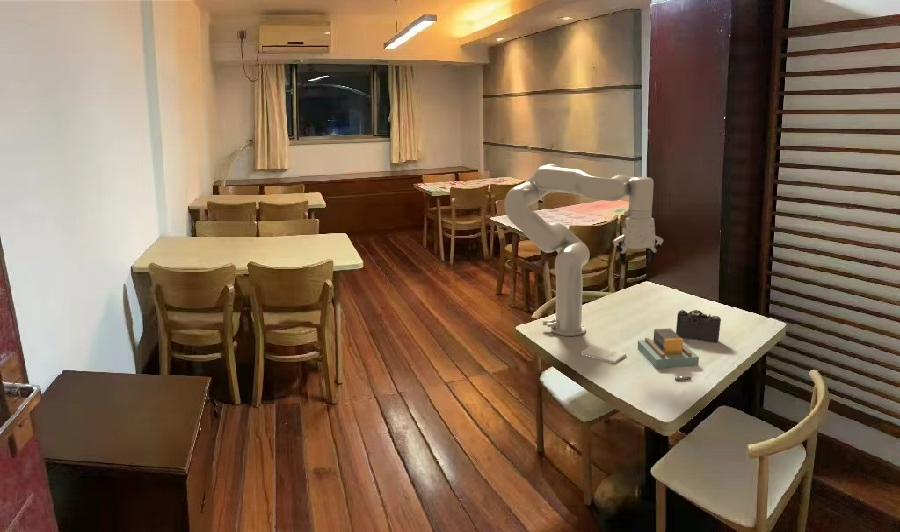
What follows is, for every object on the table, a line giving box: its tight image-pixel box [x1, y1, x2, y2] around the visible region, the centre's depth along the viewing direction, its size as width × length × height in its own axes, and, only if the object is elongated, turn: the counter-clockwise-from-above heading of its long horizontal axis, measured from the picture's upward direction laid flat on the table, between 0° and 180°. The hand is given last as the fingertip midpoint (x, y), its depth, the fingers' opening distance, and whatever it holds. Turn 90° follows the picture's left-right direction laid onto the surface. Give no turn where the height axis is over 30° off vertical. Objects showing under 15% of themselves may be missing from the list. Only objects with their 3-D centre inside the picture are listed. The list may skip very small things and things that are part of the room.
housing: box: [653, 328, 684, 355], centre depth 210 cm, size 10×6×5 cm, turn 4°
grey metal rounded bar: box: [674, 375, 693, 382], centre depth 195 cm, size 5×1×1 cm, turn 94°
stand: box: [637, 337, 700, 369], centre depth 211 cm, size 14×16×4 cm
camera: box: [675, 309, 722, 344], centre depth 227 cm, size 14×11×10 cm
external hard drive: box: [580, 344, 627, 365], centre depth 214 cm, size 2×8×12 cm
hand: (636, 263), depth 218 cm, fingers open, 9 cm apart
